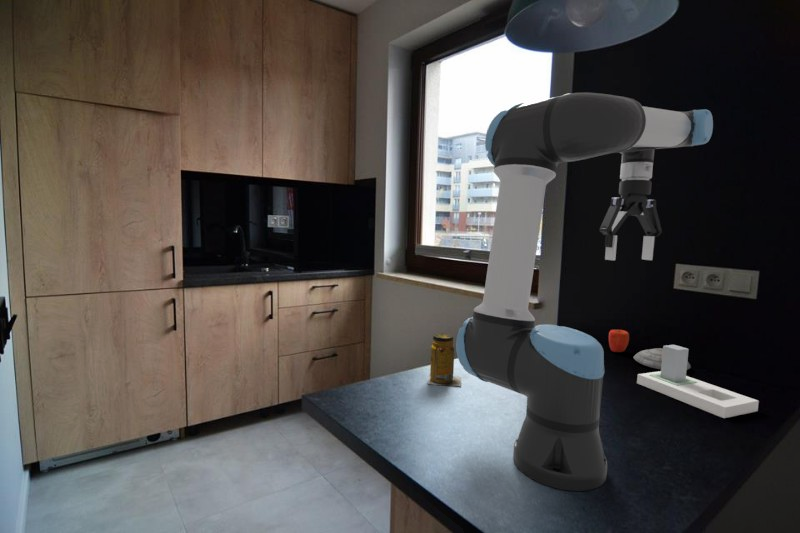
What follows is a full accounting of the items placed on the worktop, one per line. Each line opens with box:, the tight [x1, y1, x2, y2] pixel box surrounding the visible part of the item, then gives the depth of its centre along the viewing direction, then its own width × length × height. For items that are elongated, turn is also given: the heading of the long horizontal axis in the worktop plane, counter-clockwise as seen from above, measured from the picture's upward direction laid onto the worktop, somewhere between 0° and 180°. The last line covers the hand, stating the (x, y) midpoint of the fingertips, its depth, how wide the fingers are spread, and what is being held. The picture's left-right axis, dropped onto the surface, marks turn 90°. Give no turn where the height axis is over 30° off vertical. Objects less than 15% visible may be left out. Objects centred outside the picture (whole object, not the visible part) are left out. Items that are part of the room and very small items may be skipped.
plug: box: [660, 344, 690, 383], centre depth 113 cm, size 4×5×11 cm
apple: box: [608, 329, 630, 353], centre depth 146 cm, size 6×6×8 cm
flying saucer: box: [633, 347, 692, 371], centre depth 132 cm, size 15×15×6 cm
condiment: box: [427, 333, 462, 387], centre depth 113 cm, size 7×8×12 cm
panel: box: [636, 370, 760, 419], centre depth 108 cm, size 12×22×3 cm, turn 22°
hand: (628, 260), depth 117 cm, fingers open, 13 cm apart
